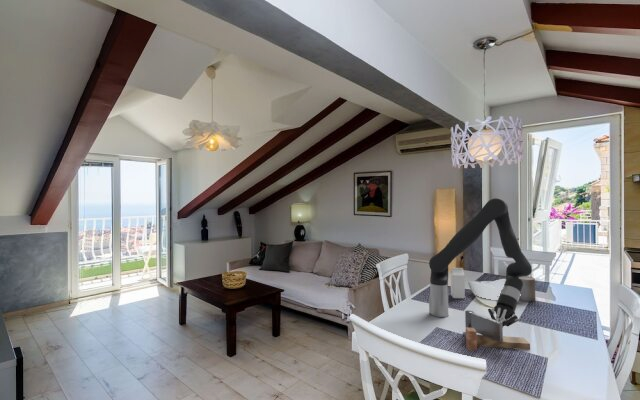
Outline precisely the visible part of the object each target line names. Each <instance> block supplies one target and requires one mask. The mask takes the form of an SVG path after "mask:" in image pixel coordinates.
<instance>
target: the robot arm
mask: <svg viewBox="0 0 640 400" xmlns="http://www.w3.org/2000/svg"><path fill="white" fill-rule="evenodd" d="M510 219H511V218H510V214H509V206H508V204H507V203H506V202H505V201H504V200H503V199H501V198H500V197H499V198H498V197H494V198H490V199H489V200H488V201H487V202H486V203H485V204H484V205H483V207H482V208H481V209H480V210H479V211H478V212H477V214H475V216H474V217H472V218H471V219H470V220H469V221H468V222H467V223H465V225H464V226H462V227H461V228H460V229H459V230H458V231H457V232H456V233H455V234H454V236H453V237H451V239H450V240H449V242H448V243H447V244H446V245H445V246H444V247H443V249H442V250H439V252H438V253H436V254H434V255H432V256H431V258H430V259H429V261H428V262H429V263H428V266H429V268H430V278H429V279H430V280H429V282H430V283H429V284H430V285H429V286H430V287H429V288H430V289H429V290H430V291H429V292H430V295H429V296H428V312H429V314H431V316H433V317H437V318H447V317H448V316H449V265H450V264H451V263H452V262H453V260H455V258H457V257H458V256H459V255H461V254H462V253H463V252H465V251H466V250H467V249H468V248H469V247H471V246H472V245H473V244H474V243H475V242H476V241H478V239H479V238H480V236H481V235H482V234H483V232H484V231H485V229H486V228H487V227H488V225H489V224H491V223H492V222H493V221H494V222H495V224H496V226H497V229H498V234H499V238H500V243H501V246H502V249H503V251H504V254H505V256H506V257H507V258H508V259H510V258H511V259H513V261H515V262H511V263H508V265H507V267H506V270H505V271H506V272H505V282H504V287H503V289H502V290H501V293H500V296H498V299H497V301H496V304H495V306H494V308H488V309H487V311H488V313H489V317H491V318H490V319H493V320H496V321H499V322H502V326H503V327H510V326H511V325H513V324H516V323H517V322H519V320H520V319H519V317H518V316H517V315H516V308H517V305H518V303H519V301H520V300H519V298H520V293H521V290H522V287H523V282H522V281H521V280H520V279H519V277H523V276H530V275H531V273H532V271H533V270H532V265H531V263H530V261H529V260H528V259H527V257H526V256H525V255H524V253H523V252H522V249H521V247H520V244H519V241H518V239H517V236H516V233H515V231H514V229H513V227H512V223H511V220H510ZM495 314H496V316H495Z"/></svg>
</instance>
